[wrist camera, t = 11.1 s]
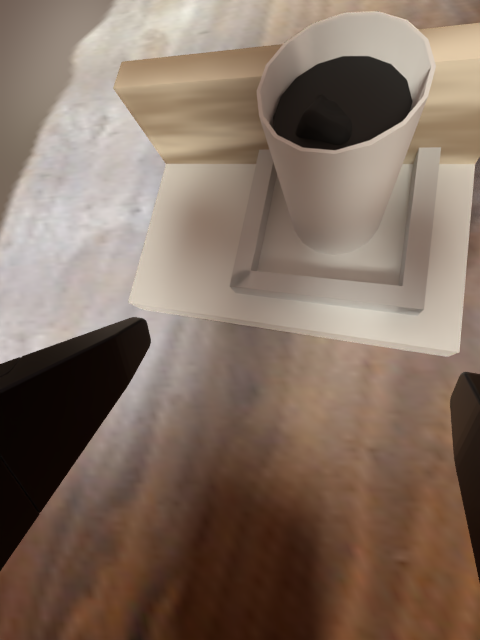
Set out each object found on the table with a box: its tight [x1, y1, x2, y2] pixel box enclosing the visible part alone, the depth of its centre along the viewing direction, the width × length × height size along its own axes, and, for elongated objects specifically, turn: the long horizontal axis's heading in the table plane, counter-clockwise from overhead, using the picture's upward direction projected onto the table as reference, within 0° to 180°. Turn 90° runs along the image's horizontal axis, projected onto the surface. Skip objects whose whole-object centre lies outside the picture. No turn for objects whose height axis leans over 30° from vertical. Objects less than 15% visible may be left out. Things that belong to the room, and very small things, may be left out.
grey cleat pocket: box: [128, 147, 475, 357], centre depth 23 cm, size 12×22×4 cm, turn 78°
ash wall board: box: [113, 23, 480, 164], centre depth 22 cm, size 2×22×9 cm, turn 78°
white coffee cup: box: [257, 11, 436, 255], centre depth 17 cm, size 7×7×10 cm
